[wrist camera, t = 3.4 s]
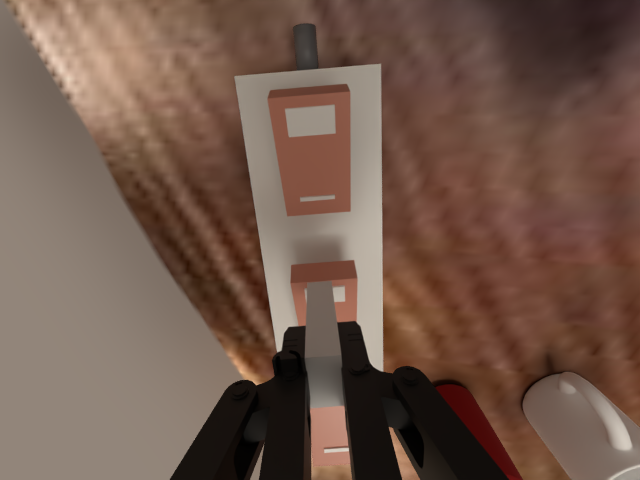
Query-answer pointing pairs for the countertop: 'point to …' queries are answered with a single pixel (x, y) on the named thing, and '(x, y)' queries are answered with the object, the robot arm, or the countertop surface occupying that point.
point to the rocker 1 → (313, 147)
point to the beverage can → (478, 426)
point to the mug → (583, 429)
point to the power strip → (330, 228)
